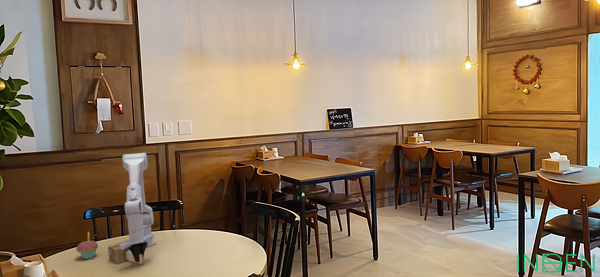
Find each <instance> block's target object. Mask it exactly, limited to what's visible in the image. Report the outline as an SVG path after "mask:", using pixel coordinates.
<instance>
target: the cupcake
mask: <svg viewBox="0 0 600 277" xmlns="http://www.w3.org/2000/svg"><path fill="white" fill-rule="evenodd" d="M98 248H99V246H98V243H97V241H94V240H90V231H88V232H87V240H85V241H82V242H80V243H79V244H77V246H76V248H75V250H76V253H77V252H78V253H79V254H80V256H81V257H82V259H83V258H84V259H83V260H89V259H88V258H90V259H92V257H93V258H94V257H95V255H96V252H97V249H98Z"/></svg>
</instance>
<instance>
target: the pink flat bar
mask: <svg viewBox="0 0 600 277" xmlns="http://www.w3.org/2000/svg"><path fill="white" fill-rule="evenodd" d="M124 256H125V261H129V262H132V263H135V264H137V265H143V263H144V259H143V260H142V254H139V262H136V261H135V259H134V257H133V254H132V253H131V251H129V250H127V251H124Z"/></svg>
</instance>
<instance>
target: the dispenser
mask: <svg viewBox="0 0 600 277" xmlns="http://www.w3.org/2000/svg"><path fill="white" fill-rule="evenodd" d="M128 240H129V239H126V240H123V241H120V242H118V243H115V244H112V245H111V244H110V245H108V246H107V252H108V261H109V262H112V263H116V264H117V265H119V264H122V263H125V262H126V259H125V256H124V251H127V250H129V248H128V247H127V248H125V249H123V250H122V249H120V244H122V243H124V242H126V241H128ZM129 251H130V250H129Z"/></svg>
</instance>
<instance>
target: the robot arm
mask: <svg viewBox="0 0 600 277" xmlns="http://www.w3.org/2000/svg"><path fill="white" fill-rule="evenodd" d="M147 155H148V154H147V153H146V152H141V153H140V152H139V153H128V154H127V153H125V154H123V155H122V166H123V168H124V169H125V171H127V172H128V177H129V178H128V179H129V184H128V185H127V187H126V201H125V202H124V212H125V216H126V220H127V227H128V236H129V239H127V240H128V241H126V240H125V241H126V242H124V243H122V244H120V249H122V250H123V249H125V248H127V247H128V248H129V250H130V251H131V253H132V254H133V257H134V259H135V261H136V262H139V254H142V260H143V261H144V258H145V251H146V249H147V248H148V247H150V246H153V245H156V244H157V242H156V241H153V240H154V239H155V234H154V233H152V225H154V213H153V208H152V207H151V206H150V205H148V204H146V196H145V195H146V194H145V183H144V171H145V170H148V156H147Z"/></svg>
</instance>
